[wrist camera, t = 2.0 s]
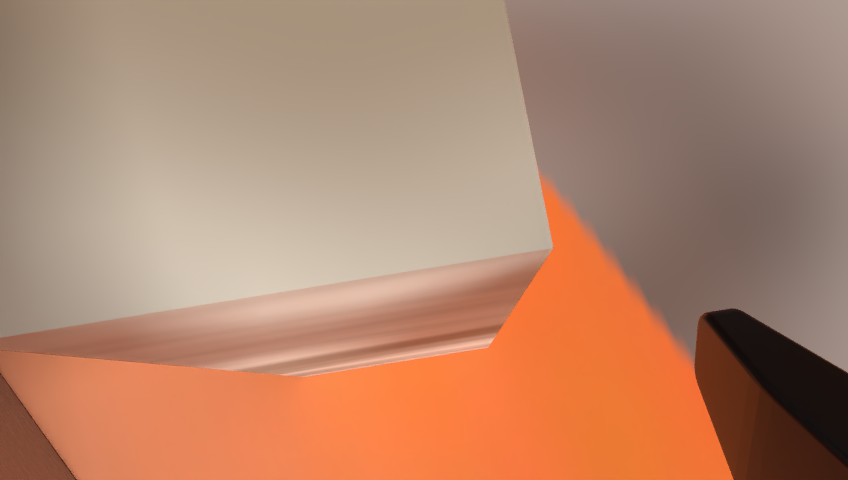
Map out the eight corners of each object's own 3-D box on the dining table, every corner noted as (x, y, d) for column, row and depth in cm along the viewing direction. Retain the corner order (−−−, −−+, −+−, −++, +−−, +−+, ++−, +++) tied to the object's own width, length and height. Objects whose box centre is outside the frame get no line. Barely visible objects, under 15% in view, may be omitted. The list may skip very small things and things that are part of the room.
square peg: (488, 347, 20) (553, 247, 6) (304, 377, 20) (-50, 345, 6) (457, 171, 21) (453, -261, 7) (283, 199, 21) (-61, -173, 7)
